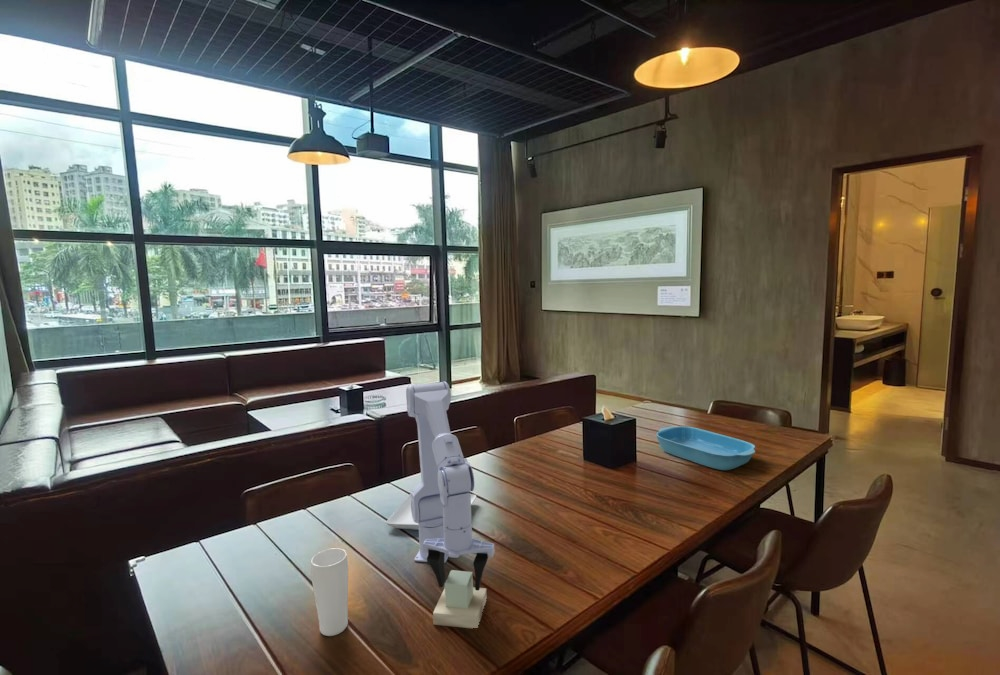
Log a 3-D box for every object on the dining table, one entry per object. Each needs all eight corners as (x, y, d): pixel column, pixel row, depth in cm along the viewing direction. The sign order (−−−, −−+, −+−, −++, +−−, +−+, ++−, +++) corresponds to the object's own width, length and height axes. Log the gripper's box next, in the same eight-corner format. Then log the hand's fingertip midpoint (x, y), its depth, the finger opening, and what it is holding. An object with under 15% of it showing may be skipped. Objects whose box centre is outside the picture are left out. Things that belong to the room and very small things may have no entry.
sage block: (452, 592, 101) (451, 570, 101) (473, 594, 100) (472, 571, 100) (445, 606, 97) (444, 583, 96) (467, 608, 96) (466, 585, 95)
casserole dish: (767, 464, 173) (768, 445, 172) (733, 479, 161) (733, 458, 160) (679, 438, 204) (679, 422, 203) (644, 450, 191) (644, 432, 191)
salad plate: (458, 539, 128) (458, 527, 127) (384, 533, 132) (384, 521, 132) (478, 504, 148) (477, 493, 148) (413, 499, 153) (413, 489, 152)
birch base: (446, 597, 104) (445, 584, 104) (486, 601, 103) (486, 588, 102) (433, 626, 95) (432, 612, 95) (477, 631, 94) (477, 617, 94)
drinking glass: (355, 615, 99) (351, 546, 97) (346, 639, 92) (341, 566, 90) (322, 617, 98) (317, 548, 97) (310, 641, 92) (305, 567, 90)
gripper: (416, 531, 94) (419, 595, 96) (488, 535, 92) (491, 601, 93) (427, 514, 101) (430, 574, 103) (495, 517, 99) (497, 579, 100)
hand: (460, 585), depth 98 cm, fingers open, 7 cm apart
